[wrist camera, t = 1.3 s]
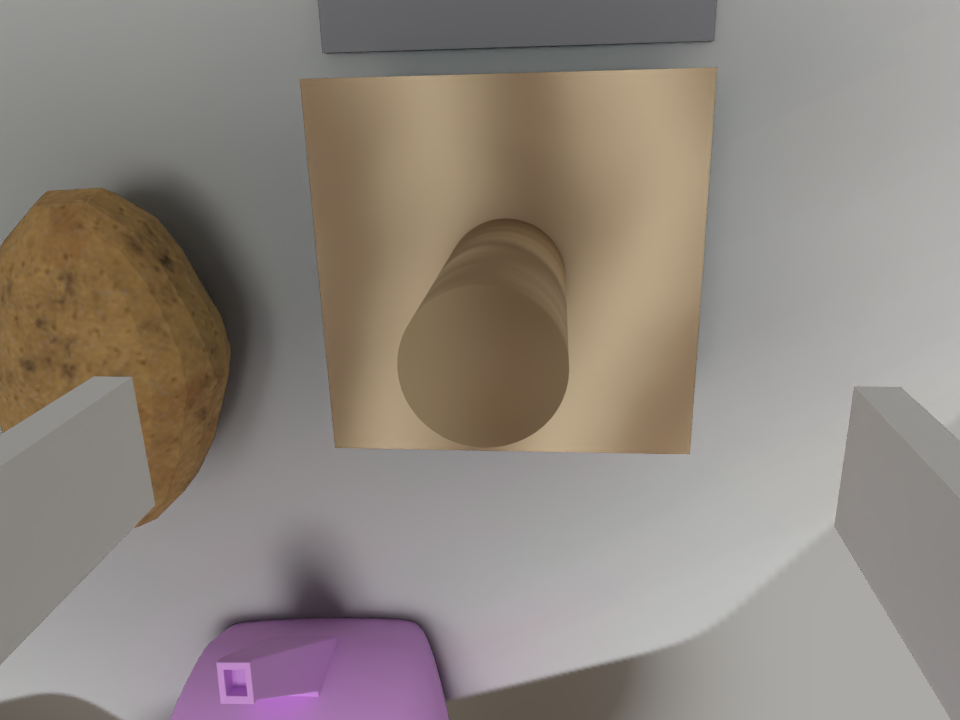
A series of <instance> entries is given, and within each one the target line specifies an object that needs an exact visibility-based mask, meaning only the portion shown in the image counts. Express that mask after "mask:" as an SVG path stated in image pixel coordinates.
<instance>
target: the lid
mask: <svg viewBox="0 0 960 720" xmlns="http://www.w3.org/2000/svg"><path fill="white" fill-rule="evenodd" d="M716 75H717V67H715V68H680V69H644V70H608V71H573V72H537V73H501V74H466V75H430V76H394V77H358V78H323V79H300V87H301V97H302V108H303V118H304V128H305V139H306V149H307V160H308V170H309V180H310V191H311V201H312V212H313V222H314V232H315V243H316V253H317V264H318V274H319V284H320V295H321V305H322V316H323V326H324V337H325V347H326V357H327V368H328V378H329V389H330V399H331V409H332V420H333V430H334V441H335V448H370V449H425V450H481V451H537V452H593V453H649V454H690V445H691V431H692V417H693V402H694V388H695V374H696V360H697V345H698V331H699V317H700V303H701V289H702V274H703V260H704V246H705V232H706V217H707V203H708V189H709V175H710V160H711V146H712V132H713V118H714V104H715V89H716Z"/></svg>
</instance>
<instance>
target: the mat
mask: <svg viewBox="0 0 960 720" xmlns="http://www.w3.org/2000/svg"><path fill="white" fill-rule="evenodd" d="M716 2H717V0H318V7H319V18H320V30H321V42H322V53H352V52H384V51H416V50H448V49H480V48H512V47H545V46H577V45H609V44H641V43H673V42H705V41H714V32H715V17H716Z"/></svg>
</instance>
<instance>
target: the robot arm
mask: <svg viewBox="0 0 960 720" xmlns="http://www.w3.org/2000/svg"><path fill="white" fill-rule="evenodd" d="M154 506H155V500H154V494H153V489H152V483H151V478H150V473H149V467H148V462H147V456H146V451H145V445H144V440H143V434H142V429H141V423H140V418H139V413H138V407H137V402H136V396H135V391H134V385H133V380H132V377H103V376H94V377H92V378H91V379H89V380H87V381H86V382H84V383H83V384H81V385H79V386H78V387H76V388H74V389H73V390H71V391H70V392H68V393H66V394H65V395H63V396H62V397H60V398H58V399H57V400H55V401H54V402H52V403H50V404H49V405H47V406H46V407H44V408H42V409H41V410H39V411H38V412H36V413H34V414H33V415H31V416H30V417H28V418H26V419H25V420H23V421H22V422H20V423H18V424H17V425H15V426H14V427H12V428H10V429H9V430H7V431H6V432H4V433H2V434H1V435H0V665H1V664H2V663H3V661H4V660H5V659H6V658H7V657H8V656H9V655H10V654H11V653H12V652H13V651H14V650H15V649H16V648H17V647H18V646H19V645H20V644H21V643H22V642H23V641H24V640H25V639H26V638H27V637H28V636H29V635H30V634H31V633H32V632H33V631H34V630H35V629H36V628H37V626H38V625H39V624H40V623H41V622H42V621H43V620H44V619H45V618H46V617H47V616H48V615H49V614H50V613H51V612H52V611H53V610H54V609H55V608H56V607H57V606H58V605H59V604H60V603H61V602H62V601H63V600H64V599H65V598H66V597H67V596H68V595H69V594H70V593H71V591H72V590H73V589H74V588H75V587H76V586H77V585H78V584H79V583H80V582H81V581H82V580H83V579H84V578H85V577H86V576H87V575H88V574H89V573H90V572H91V571H92V570H93V569H94V568H95V567H96V566H97V565H98V564H99V563H100V562H101V561H102V560H103V559H104V558H105V556H106V555H107V554H108V553H109V552H110V551H111V550H112V549H113V548H114V547H115V546H116V545H117V544H118V543H119V542H120V541H121V540H122V539H123V538H124V537H125V536H126V535H127V534H128V533H129V532H130V531H131V530H132V529H133V528H134V527H135V526H136V525H137V524H138V523H139V521H140V520H141V519H142V518H143V517H144V516H145V515H146V514H147V513H148V512H149V511H150V510H151V509H152V508H153V507H154ZM835 528H836V530H837V531H838V533H839V535H840V536H841V538H842V540H843V541H844V543H845V545H846V546H847V548H848V550H849V551H850V553H851V555H852V556H853V558H854V560H855V561H856V563H857V565H858V566H859V568H860V570H861V571H862V573H863V575H864V576H865V578H866V580H867V581H868V583H869V585H870V586H871V588H872V590H873V591H874V593H875V594H876V596H877V598H878V599H879V601H880V603H881V604H882V606H883V608H884V609H885V611H886V613H887V614H888V616H889V618H890V619H891V621H892V623H893V624H894V626H895V627H896V629H897V631H898V633H899V634H900V636H901V638H902V639H903V641H904V643H905V644H906V646H907V648H908V649H909V651H910V653H911V654H912V656H913V657H914V659H915V661H916V663H917V664H918V666H919V667H920V669H921V671H922V673H923V674H924V676H925V677H926V679H927V681H928V682H929V684H930V686H931V687H932V689H933V691H934V692H935V694H936V696H937V697H938V699H939V701H940V702H941V704H942V706H943V707H944V709H945V710H946V712H947V714H948V715H949V717H950V719H951V720H960V441H959V440H958V439H957V438H956V437H955V436H954V435H953V434H952V433H951V432H950V431H948V430H947V429H946V428H945V427H944V426H943V425H942V424H941V423H940V422H939V421H938V420H936V419H935V418H934V417H933V416H932V415H931V414H930V413H929V412H928V411H927V410H925V409H924V408H923V407H922V406H921V405H920V404H919V403H918V402H917V401H916V400H915V399H913V398H912V397H911V396H910V395H909V394H908V393H907V392H906V391H905V390H904V389H902V388H901V387H855V386H854V391H853V399H852V406H851V413H850V420H849V427H848V434H847V441H846V448H845V455H844V462H843V469H842V476H841V483H840V490H839V497H838V504H837V512H836V519H835Z"/></svg>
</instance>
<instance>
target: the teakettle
mask: <svg viewBox="0 0 960 720" xmlns="http://www.w3.org/2000/svg"><path fill="white" fill-rule="evenodd" d="M170 720H449V716H448V711H447V706H446V702H445V697H444V693H443V689H442V685H441V681H440V678H439V674H438V670H437V667H436V663H435V659H434V656H433V653H432V650H431V647H430V644H429V641H428V640H427V637H426V635H425V633H424V631H423V630H422V629H421V628H420V626H419V625H418V624H416V623H414V622H413V621H407V620H402V619H383V618H308V619H284V620H263V621H253V622H242V623H238V624H234V625H232V626H231V627H229V628H228V629H226V630H225V631H224V632H223V633H221V634H220V635H219V636H218V637H216V638H215V639H214V640H213V641H211V642H210V643H209V644H208V646H207V647H206V648H205V649H204V651H203V653H202V654H201V656H200V658H199V659H198V661H197V663H196V665H195V666H194V668H193V670H192V672H191V674H190V676H189V678H188V680H187V682H186V684H185V686H184V688H183V690H182V693H181V695H180V697H179V699H178V701H177V704H176V706H175V709H174V711H173V713H172V716H171V718H170Z"/></svg>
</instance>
